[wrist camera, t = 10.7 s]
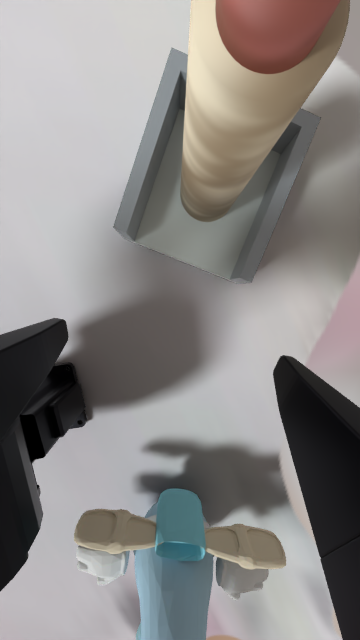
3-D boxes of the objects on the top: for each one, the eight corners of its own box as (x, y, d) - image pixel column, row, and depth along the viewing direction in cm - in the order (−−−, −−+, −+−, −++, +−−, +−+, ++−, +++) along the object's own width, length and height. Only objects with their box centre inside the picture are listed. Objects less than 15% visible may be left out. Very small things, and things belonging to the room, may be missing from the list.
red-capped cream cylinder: (172, 209, 18) (165, 6, 5) (192, 154, 17) (244, -240, 4) (221, 230, 18) (335, 91, 5) (242, 177, 18) (429, -124, 5)
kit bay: (124, 239, 19) (113, 227, 15) (172, 96, 17) (171, 47, 14) (237, 283, 20) (251, 282, 16) (292, 151, 18) (321, 117, 15)
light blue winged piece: (91, 542, 23) (-55, 980, 9) (102, 457, 22) (-51, 807, 7) (239, 559, 24) (340, 990, 9) (258, 478, 23) (415, 835, 8)
